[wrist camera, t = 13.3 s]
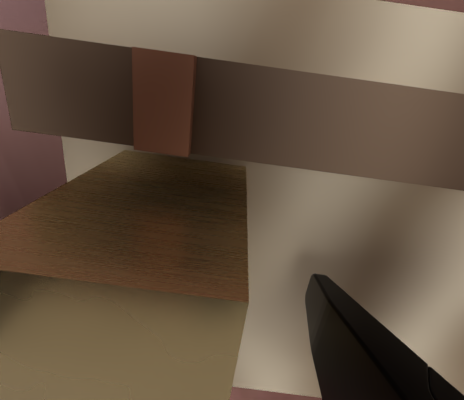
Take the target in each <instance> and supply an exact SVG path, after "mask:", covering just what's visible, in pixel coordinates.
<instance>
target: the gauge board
mask: <svg viewBox="0 0 464 400" xmlns="http://www.w3.org/2000/svg"><path fill="white" fill-rule="evenodd" d="M45 7H46V15H47V23H48V31H49V36H46V35H39V34H32V33H25V32H18V31H10V30H3V29H0V69H1V74H2V79H3V84H4V89H5V95H6V100H7V105H8V110H9V115H10V121H11V126H12V130H19V131H26V132H34V133H41V134H48V135H56V136H61V137H62V145H63V153H64V161H65V169H66V177H67V182H69V181H71V180H72V179H74V178H76V177H78V176H80V175H81V174H83V173H85V172H87V171H88V170H90V169H92V168H94V167H95V166H97V165H99V164H101V163H102V162H104V161H106V160H108V159H110V158H111V157H113V156H115V155H117V154H118V153H120V152H122V151H124V150H128V151H136V152H143V153H150V154H158V155H165V156H172V157H180V158H187V159H194V160H201V161H209V162H216V163H223V164H231V165H238V166H245V167H246V181H247V232H248V284H249V305H248V309H247V314H246V319H245V324H244V329H243V334H242V339H241V344H240V349H239V354H238V359H237V364H236V369H235V374H234V379H233V384H232V387H240V388H248V389H256V390H264V391H272V392H280V393H288V394H295V395H303V396H311V397H319V398H322V396H321V392H320V388H319V383H318V379H317V375H316V371H315V366H314V362H313V357H312V353H311V347H310V340H309V331H308V323H307V314H306V306H305V294H306V290H307V287H308V284H309V280H310V277H311V275H312V274H314V273H316V274H323V275H326V276H328V277H329V278H330V279H331V280H332V281H334V282H335V283H336V284H337V285H338V286H339V287H340V288H342V289H343V290H344V291H345V292H346V293H347V294H348V295H349V296H351V297H352V298H353V299H354V300H355V301H356V302H357V303H359V304H360V305H361V306H362V307H363V308H364V309H365V310H367V311H368V312H369V313H370V314H371V315H372V316H373V317H375V318H376V319H377V320H378V321H379V322H380V323H381V324H383V325H384V326H385V327H386V328H387V329H388V330H389V331H391V332H392V333H393V334H394V335H395V336H396V337H397V338H399V339H400V340H401V341H402V342H403V343H404V344H405V345H407V346H408V347H409V348H410V349H411V350H412V351H413V352H415V353H416V354H417V355H418V356H419V357H420V358H421V359H423V360H424V361H425V362H426V363H427V364H428V367H429V366H430V367H432V368H433V369H434V370H435V371H436V372H438V373H439V374H440V375H441V376H442V377H443V378H444V379H445V380H447V381H448V382H449V383H450V384H451V385H453V386H454V387H455V388H456V389H457V390H458V391H460V392H461V393H462V394H463V395H464V13H462V12H455V11H448V10H441V9H434V8H428V7H421V6H414V5H407V4H400V3H393V2H386V1H379V0H45Z"/></svg>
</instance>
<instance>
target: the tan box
mask: <svg viewBox="0 0 464 400" xmlns="http://www.w3.org/2000/svg"><path fill="white" fill-rule="evenodd" d="M248 305H249V284H248V232H247V181H246V167H245V166H238V165H231V164H223V163H216V162H209V161H201V160H194V159H187V158H180V157H172V156H165V155H158V154H150V153H143V152H136V151H128V150H124V151H122V152H120V153H118V154H117V155H115V156H113V157H111V158H110V159H108V160H106V161H104V162H102V163H101V164H99V165H97V166H95V167H94V168H92V169H90V170H88V171H87V172H85V173H83V174H81V175H80V176H78V177H76V178H74V179H72V180H71V181H69V182H67V183H65V184H64V185H62V186H60V187H58V188H57V189H55V190H53V191H51V192H50V193H48V194H46V195H44V196H42V197H41V198H39V199H37V200H35V201H34V202H32V203H30V204H28V205H27V206H25V207H23V208H21V209H20V210H18V211H16V212H14V213H12V214H11V215H9V216H7V217H5V218H4V219H2V220H0V400H229V399H230V394H231V389H232V384H233V379H234V374H235V369H236V364H237V359H238V354H239V349H240V344H241V339H242V334H243V329H244V324H245V319H246V314H247V309H248Z"/></svg>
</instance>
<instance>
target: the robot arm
mask: <svg viewBox="0 0 464 400" xmlns="http://www.w3.org/2000/svg"><path fill="white" fill-rule="evenodd" d="M305 306H306V314H307V323H308V331H309V340H310V347H311V353H312V357H313V362H314V366H315V371H316V375H317V379H318V383H319V388H320V392H321V396H322V400H464V395H463V394H462V393H461V392H460V391H458V390H457V389H456V388H455V387H454V386H453V385H451V384H450V383H449V382H448V381H447V380H445V379H444V378H443V377H442V376H441V375H440V374H439V373H438V372H436V371H435V370H434V369H433V368H432V367H430V366H429V367H428V364H427V363H426V362H425V361H424V360H423V359H421V358H420V357H419V356H418V355H417V354H416V353H415V352H413V351H412V350H411V349H410V348H409V347H408V346H407V345H405V344H404V343H403V342H402V341H401V340H400V339H399V338H397V337H396V336H395V335H394V334H393V333H392V332H391V331H389V330H388V329H387V328H386V327H385V326H384V325H383V324H381V323H380V322H379V321H378V320H377V319H376V318H375V317H373V316H372V315H371V314H370V313H369V312H368V311H367V310H365V309H364V308H363V307H362V306H361V305H360V304H359V303H357V302H356V301H355V300H354V299H353V298H352V297H351V296H349V295H348V294H347V293H346V292H345V291H344V290H343V289H342V288H340V287H339V286H338V285H337V284H336V283H335V282H334V281H332V280H331V279H330V278H329V277H328V276H326V275H323V274H316V273H314V274H312V275H311V277H310V280H309V284H308V287H307V290H306V294H305Z"/></svg>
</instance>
